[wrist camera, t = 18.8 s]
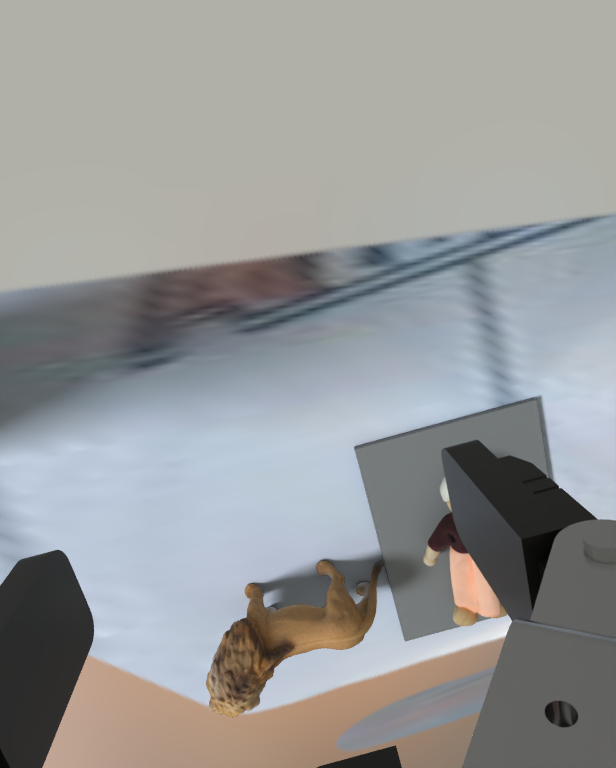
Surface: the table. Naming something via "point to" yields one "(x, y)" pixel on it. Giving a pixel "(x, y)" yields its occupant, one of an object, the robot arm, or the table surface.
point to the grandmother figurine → (462, 572)
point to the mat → (433, 503)
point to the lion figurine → (285, 638)
